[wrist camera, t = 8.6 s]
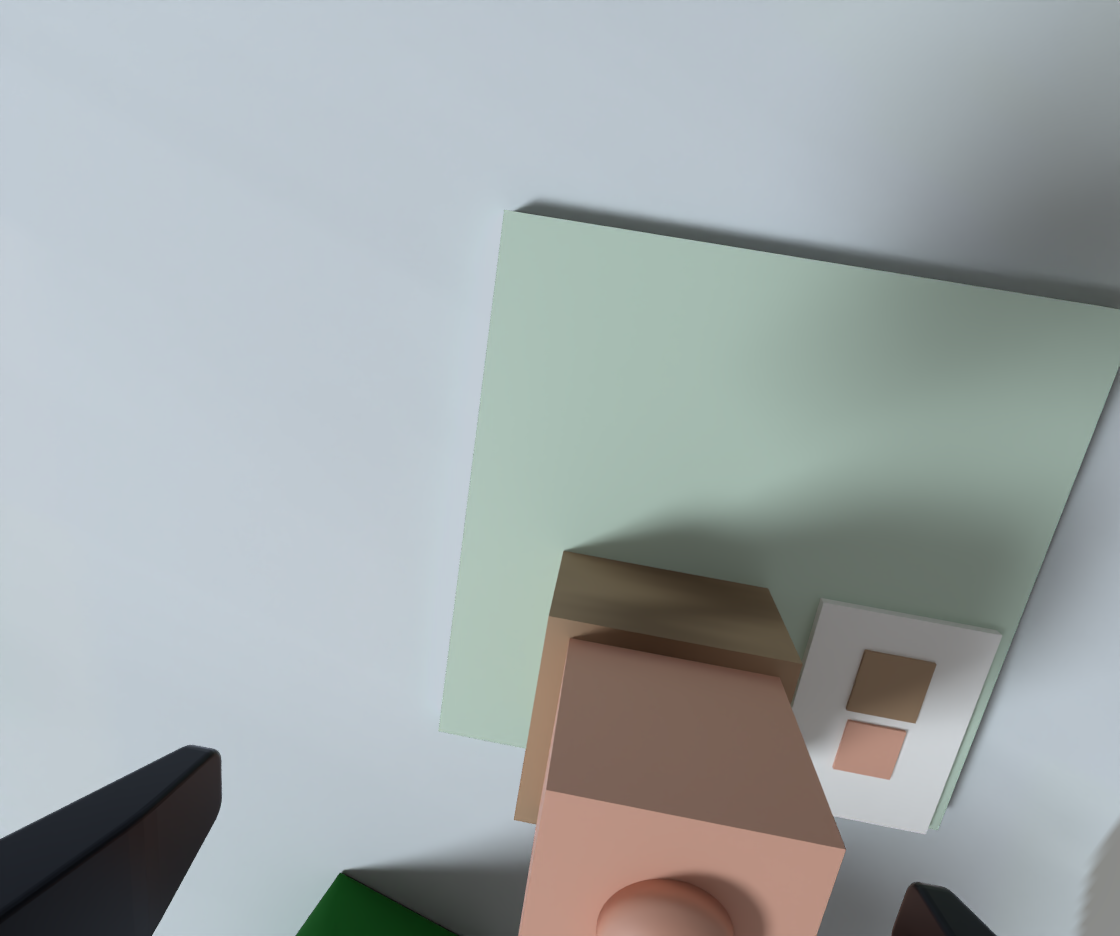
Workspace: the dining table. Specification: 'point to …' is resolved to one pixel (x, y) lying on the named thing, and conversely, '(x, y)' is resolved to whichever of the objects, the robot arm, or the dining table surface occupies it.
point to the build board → (777, 477)
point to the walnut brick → (649, 636)
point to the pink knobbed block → (677, 805)
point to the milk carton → (364, 914)
